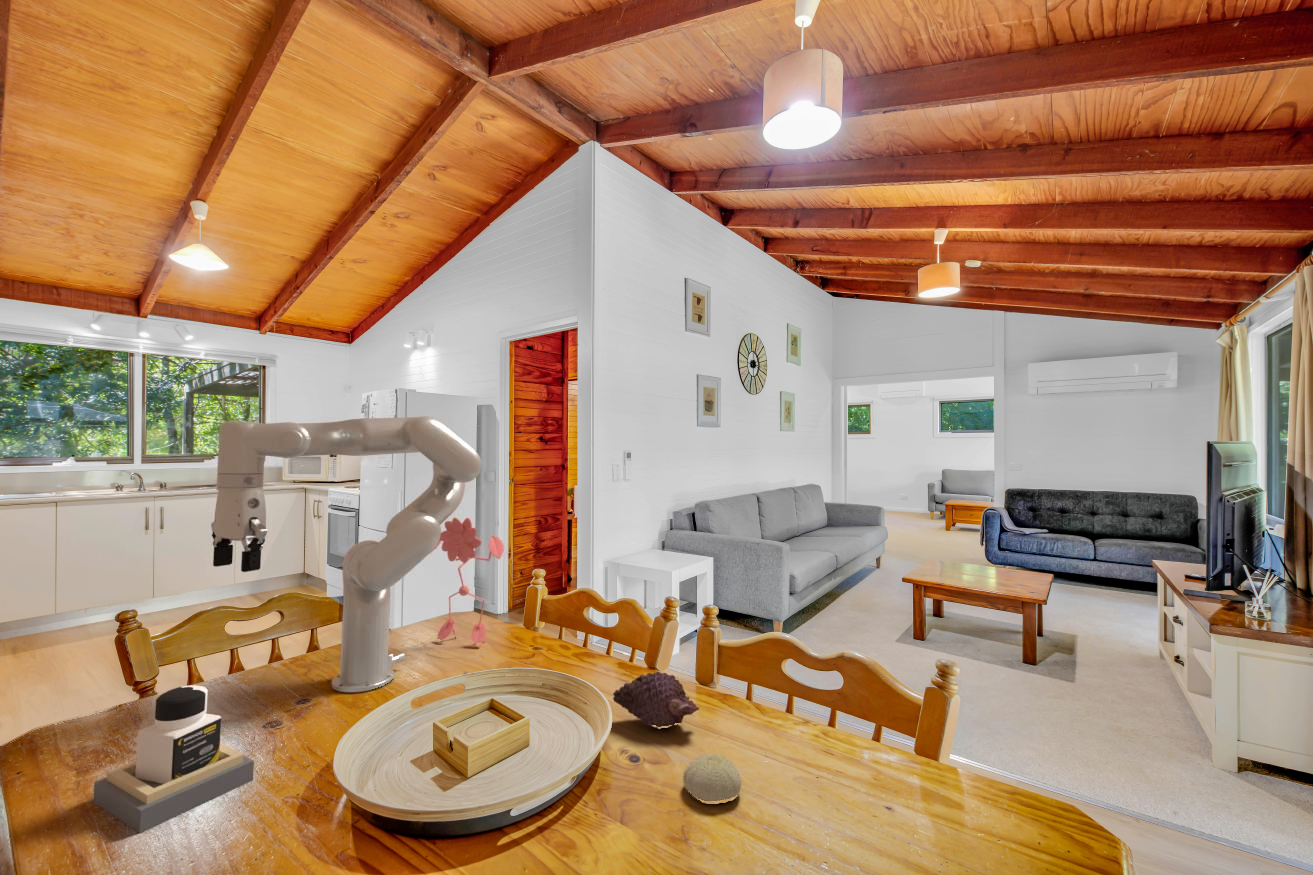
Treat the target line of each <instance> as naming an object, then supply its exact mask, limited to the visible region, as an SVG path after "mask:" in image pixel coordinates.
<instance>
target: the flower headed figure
mask: <svg viewBox="0 0 1313 875" xmlns="http://www.w3.org/2000/svg"><path fill="white" fill-rule="evenodd" d="M444 528H445V529H446V530H444V531H441V536H440V540H439V542H438V544H437V545H436V547H435V548H434V549H433V551H435V549H437V548H438V546H439V545H440V544H441V543H442V544H441V551H443V552H447V557H448V560H449V562H454V561H458V562H459V561H460V562H462V563H461V564H460V565H459V566H458V568H457V571H458V574H459V578H460V582H461V586H460V587H459V590H458V591H457V592H455V593H453V594H452V595H450V596H449V597H448V607H449V609H448V611H449V612H448V615H449V616H448V617H449V619H448V620H446V621H445V622H444V623H443V624H442V626H441V627H440V629H439V631H438V633H437V634H438V635H437V639H440V640H441V641H442V640H443V641H444V640H445V639H447V638H448V637H449V636H450V634H451V633H452V632H453V635H454V634H456V635H457V633H456V630H455V624H456V620H455V619H454V618H452V616H451V615H452V614H451V612H452V611H451V608H452V607H451V597H453V596H455V595H458V594H459V595H460V596H463V597H464V596H467V595H469V596H472V597H474V598H476V599H478V600H481V601H482V606H481V611H480V618H479V622H477V623H475V624H474V626H473V629H472V630H471V638H472V641H473V643H474V645H476V644H477V643H482V644H483V641H484V640H485V639H486V638H487V637H486V636H487V628H486V626H485V625H484V623H483V622H482V617H483V612H484V608H485V607H484V606H485V599H483V598H481V597H479V596H477V595H474V594H472V593H470V588H469V586H467V585H465V584H464V581H463V576H462V572H461V568H462V567H463V566H464V565H465V564H466V563H468V562H469V560H471V559H476V560H482V561H486V562H490V560H491V559H492V556H494V557H495V558H496V559H499V560H501V558H502V556H503V553H504V550H505V548H504V547H505V546H504V543H503V540H502V539H501V538H500V537H498V536H496V535H495V534H494V535H491V538H490V539H489V540H488V550H489V552H488V553H489V554H488V558H485V557H480V556H476V550H475V549H477V548H479V547H480V546H481V545H482V539H480V538H478V537H476V536H477V533H478V532H477V531H478V530H477V528H476V527H473V523H472V520H471V519H470V518H469V517H466V518H465V519H464V520H463V521H461V519H459V518H457V517H453V518H452V521H451V520H447V521H444ZM433 551H432V552H433ZM437 639H436V640H437Z"/></svg>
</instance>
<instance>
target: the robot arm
mask: <svg viewBox="0 0 1313 875" xmlns="http://www.w3.org/2000/svg"><path fill="white" fill-rule="evenodd" d="M218 432H219V433H218V452H217V453H218V455H217V470H216V471H217V474H216V491H217V496H216V502H215V510H214V517H213V518H214V520H213V522H212V523H210V528H211V531H212V533H211V537H212V538H213V540H212V545H213V559H212V560H213V561H212V566H213V567H215V568H216V567H222V566H230V565H232V564H233V554H234V545H233V544H232V542H233V541H237V542H239V541H240V542H241V545H242V547H243V550H242V551H241V563H240V564H241V566H240V569H241V570H240V572H243V573H247V572H254V571H259V570H260V569H261V564H262V563H261V561H262V560H261V559H262V550H263V548H264V544H265V542H266V539H265V538H266V537H267V533H268V529H267V511H266V510H267V508H266V507H267V506H266V496H265V492H264V478H265V474H264V472H265V457H266V456H267V457H273V458H274V457H275V458H283V459H293V458H298V457H309V456H334V455H335V456H349V457H355V456H356V457H360V456H362V457H363V456H377V455H379V456H380V455H392V454H393V455H394V454H397V455H398V454H409V453H411V454H412V453H421V455H423V456H424V457H426V459H427V460H429V461H430V462H431V463H432V471H433V474H432V481H431V483H430V485H429V486H428V487H427V488H426V489H425V490H424V491H423V492H422V493H421V494H420V495H419V496H418V497H417V498H416V499H414V500H413V501H412V502H411V503H409V504H408V505H407V506H405V507H404V508H402V510H401V511H399V512H398V513H396V514H395V515H394V516H393V517H391V519H390V520H389V521H388V523H387V525H386V529H385V530H386V531H385V533H386V535H385V537H383V538H382V539H381V540H380V541H376V540H363V541H360V542H357V543H355V544H354V545H353V546H352V547H350V548H349V549H348V551H347V552H346V554H345V556H344V558H343V563H342V585H343V586H342V588H343V602H342V603H343V604H342V606H343V607H342V619H341V620H342V623H341V644H340V645H341V646H340V647H341V649H340V666H339V668H340V672H339V674H337V675H335V676H334V677H333V678H332V680H331V688H332V689H333V690H335V691H337V692H340V693H361V692H368V691H372V689H373V690H376V689H379V688H381V686H382V687H385V686H386V685H388V684H390V683H391V682H392V681H393V680H394V679H395V670H394V669H392V667H394V666H395V664H398V663H399V664H400V663H401V662H404V661H405V660H406V654H405V653H404V652H401V653H397V654H395V655H394V654H392V653H389V641H390V638H389V636H390V635H389V634H390V617H391V616H390V612H391V587H393V586H394V585H395V584H397V583H398V582H399V581H401V580H402V579H403V578H404V577H405V576H406V575H407V574H408V573H410V572H411V571H412V570H413V569H414V568H415V567H416V566H417V565H419V564H420V563H421V562H422V561H423V560H424V559H426V558H427V556H429V555H430V554H432V552H433V549H434V548H435V547H436V545H437V544H438V542H439V540H440V536H441V533H442V527H441V524H442V523H445V522H446V520H447V519H448V518H449V517H450V516H451V515H452V514H453V513H454V512H455V511H456V510H457V509H458V507H459V506H460V504H461V502H462V500H463V498H464V494H465V488H466V483H469V482H472V481H474V480H475V479H476V478H477V477H478V476H479V475H480V473H481V471H482V466H483V465H482V464H483V463H482V459H481V457H480V455H479V453H478V452H477V451H476V450H475V449H474V448H473V447H472V446H470V445H469V444H468V443H467V442H465V441H464V440H463V439H462V438H461V437H459V436H458V435H457V434H455V433H454V431H452V430H451V429H450V428H448V426H446V425H445V424H444V423H442V422H441V421H439V420H438V419H436V418H434V417H432V416H429V415H427V416H426V415H423V416H415V417H412V416H411V417H407V416H406V417H378V418H377V417H374V418H373V417H370V418H368V417H367V418H366V417H365V418H364V417H363V418H352V419H345V420H341V421H340V420H338V421H331V422H330V421H328V422H307V423H306V422H301V423H296V422H292V421H291V422H290V421H287V422H272V423H270V422H269V423H267V422H266V423H261V422H256V421H247V420H246V421H243V420H229V421H228V420H227V421H224V422H222V423H221V425H220V426H219V431H218ZM393 678H394V679H393ZM392 679H393V680H392ZM391 680H392V681H391ZM390 681H391V682H390ZM389 682H390V683H389ZM387 683H388V684H387ZM385 684H386V685H385ZM378 687H379V688H378ZM375 688H376V689H375Z"/></svg>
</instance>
